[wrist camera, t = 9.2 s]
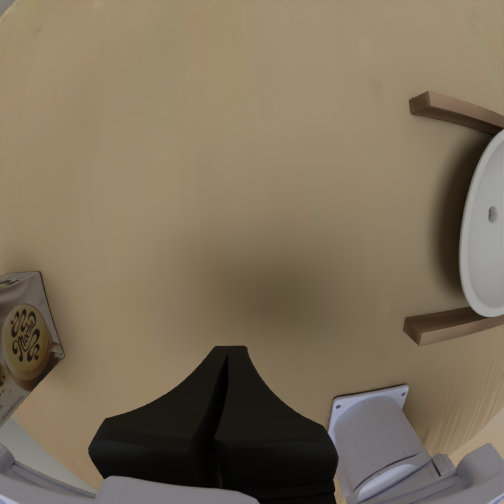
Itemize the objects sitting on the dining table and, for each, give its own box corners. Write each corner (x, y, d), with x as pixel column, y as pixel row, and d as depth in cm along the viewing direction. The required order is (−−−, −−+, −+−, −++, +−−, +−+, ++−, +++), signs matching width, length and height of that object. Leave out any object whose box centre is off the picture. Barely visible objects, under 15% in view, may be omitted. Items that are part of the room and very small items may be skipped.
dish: (483, 99, 18) (516, 90, 13) (538, 205, 20) (568, 210, 15) (391, 228, 20) (426, 239, 16) (464, 326, 22) (493, 348, 18)
